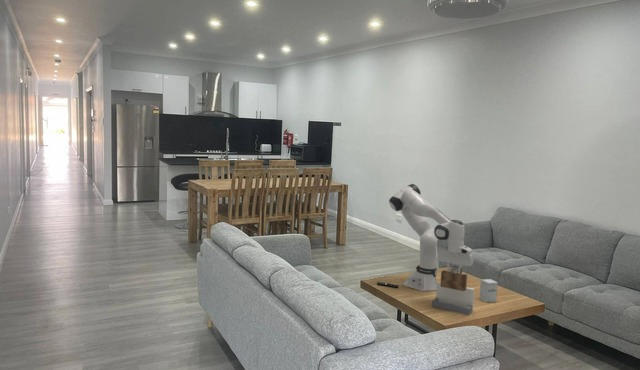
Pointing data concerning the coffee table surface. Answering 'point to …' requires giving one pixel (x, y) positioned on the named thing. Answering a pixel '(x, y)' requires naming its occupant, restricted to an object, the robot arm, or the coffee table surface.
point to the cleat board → (454, 299)
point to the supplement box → (488, 290)
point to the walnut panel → (453, 279)
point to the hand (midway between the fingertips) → (454, 271)
